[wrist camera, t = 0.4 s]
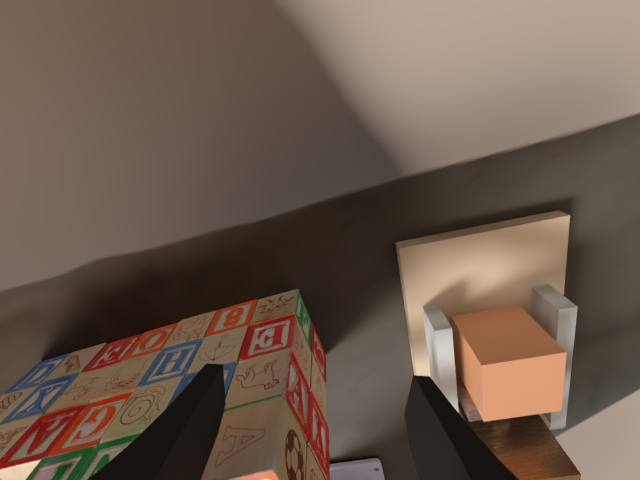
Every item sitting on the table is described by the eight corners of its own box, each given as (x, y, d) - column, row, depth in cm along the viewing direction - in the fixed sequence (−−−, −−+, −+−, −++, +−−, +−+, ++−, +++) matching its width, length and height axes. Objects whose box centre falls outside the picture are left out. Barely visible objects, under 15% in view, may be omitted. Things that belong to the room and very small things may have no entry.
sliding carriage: (525, 400, 23) (583, 482, 18) (454, 410, 24) (491, 493, 19) (527, 364, 22) (589, 442, 17) (452, 376, 23) (490, 455, 17)
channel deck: (546, 393, 25) (579, 435, 22) (419, 412, 26) (433, 455, 23) (558, 210, 19) (605, 230, 16) (395, 242, 20) (409, 267, 17)
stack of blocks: (86, 414, 27) (-90, 641, 15) (39, 359, 24) (-208, 576, 13) (328, 353, 24) (332, 573, 13) (300, 284, 22) (275, 477, 10)
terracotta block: (518, 356, 22) (561, 410, 18) (455, 366, 23) (483, 421, 19) (518, 304, 21) (566, 352, 17) (451, 316, 21) (481, 365, 17)
